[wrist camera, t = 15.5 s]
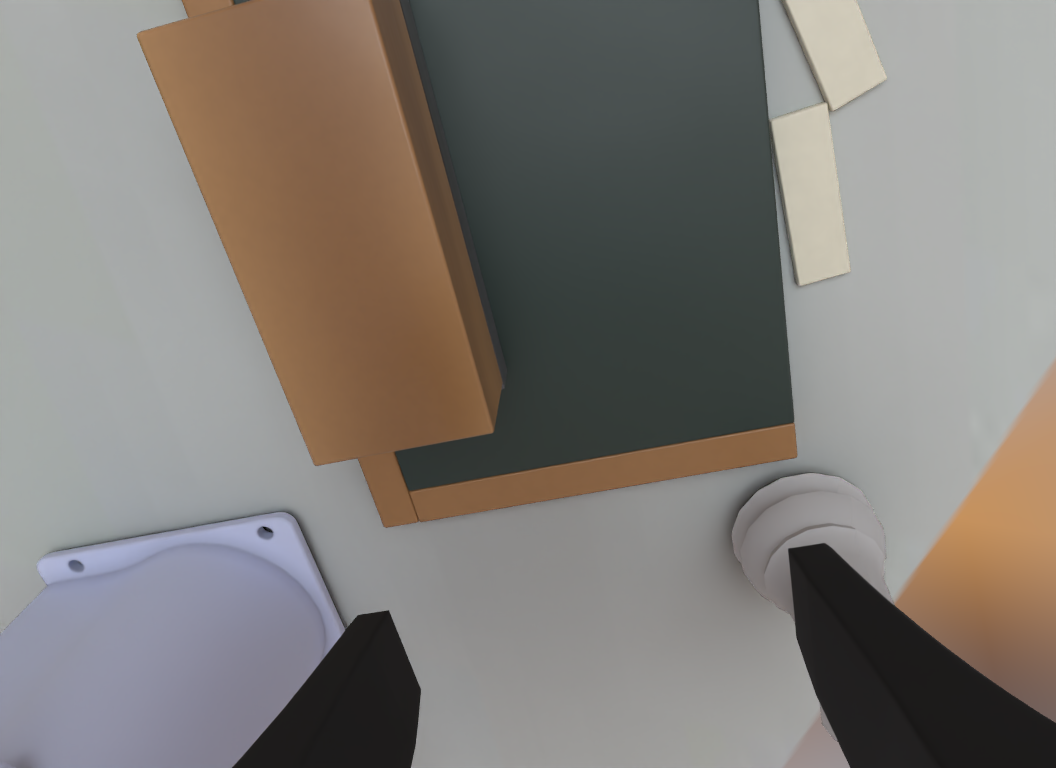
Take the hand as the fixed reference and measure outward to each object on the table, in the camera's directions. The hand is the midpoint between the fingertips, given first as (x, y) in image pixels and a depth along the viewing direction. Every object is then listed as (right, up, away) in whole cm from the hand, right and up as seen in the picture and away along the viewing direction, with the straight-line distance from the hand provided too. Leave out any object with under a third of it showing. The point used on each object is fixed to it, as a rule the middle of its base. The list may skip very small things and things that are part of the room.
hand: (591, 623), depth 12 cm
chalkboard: (-2, +10, +6) cm, 11 cm away
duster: (-5, +9, +6) cm, 11 cm away
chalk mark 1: (+6, +13, +4) cm, 15 cm away
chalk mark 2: (+6, +9, +6) cm, 13 cm away
